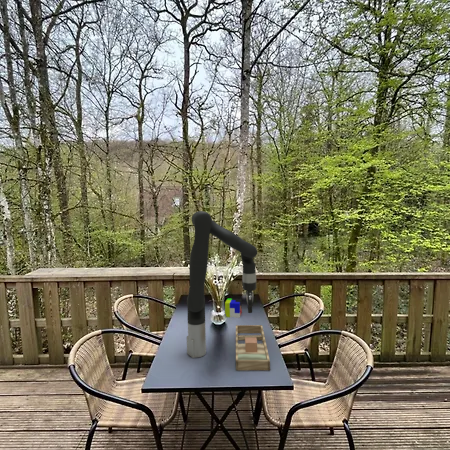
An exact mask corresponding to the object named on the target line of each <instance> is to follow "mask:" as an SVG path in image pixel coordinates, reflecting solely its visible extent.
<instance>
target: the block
mask: <svg viewBox="0 0 450 450" xmlns="http://www.w3.org/2000/svg"><path fill="white" fill-rule="evenodd" d="M244 344H245V350H246V352H257V344H258V340H257V338H256V337H245V340H244Z"/></svg>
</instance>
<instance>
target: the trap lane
mask: <svg viewBox="0 0 450 450" xmlns="http://www.w3.org/2000/svg"><path fill="white" fill-rule="evenodd" d="M238 334H241V335H238ZM242 334H244V335H242ZM245 334H246V335H245ZM247 334H248V335H247ZM251 334H252V335H251ZM254 334H256V335H254ZM245 337H256V338H257V341H261V342H262V343H257V352H246V350H245V343H239V341H245ZM265 337H266V336H265V332H264V327H263V325H262V324H259V325H257V324H255V325H253V324H252V325H251V324H250V325H249V324H248V325H247V324H246V325H245V324H244V325H242V324H241V325H238V324H236V325H235V371H271V361H270V355H269V351H268V345H267V341H266V338H265Z"/></svg>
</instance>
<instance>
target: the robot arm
mask: <svg viewBox="0 0 450 450" xmlns="http://www.w3.org/2000/svg"><path fill="white" fill-rule="evenodd" d="M191 223H192V225H193V227H194V239H193V243H192V247H191V250H190V255H189V268H188V269H189V270H188V272H189V289H188V295H187V297H186V305H187V336H186V354H187V355H188V356H190V357H191V358H192V359H196V358H201V357H204V356H206V354H207V338H206V337H207V336H206V334H207V333H206V302H205V301H206V298H205V285H206V284H205V283H206V278H207V277H206V276H207V272H208V263H209V246H210V245H209V240H210V234H211V235H212V236H214V237H215V238H217V239H218V240H220V241H221V242H222V243H224V244H225V245H226V246H229V247H230V248H232V249H233V250H235V251H238V252H239V253H240V257H241V263H242V290H243V291H246V292H245V296H246V303H247V306H246V307H247V313H249V314H252V313H253V305H254V304H253V302H254V291H256V289H257V270H256V268H257V267H256V262H254V258H256V257H257V255H258V249H257V247H256V246H254V245H253V244H252V243H250V242H248V241H246V240H244V239H243V238H241V237H240V236H238V235H237V234H236V233H234V232H232V231H231V230H229V229H227V228H225V227H223V226H221V225H220V224H218V223H217V222H215V220H213V219H212V217H211V215H210V214H209V213H208V212H206V211H203V210H198V211H196V212H194V213H193V214H192V216H191Z"/></svg>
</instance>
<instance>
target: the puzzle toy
mask: <svg viewBox="0 0 450 450" xmlns="http://www.w3.org/2000/svg"><path fill="white" fill-rule="evenodd" d="M242 309H243V307H242V298H227V299H226V300H225V302H224V315H225V314H226V316H227V317H226V318H232V317H234V318H233V319H240V318H241V315H242V313H243V312H242V311H243V310H242Z"/></svg>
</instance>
